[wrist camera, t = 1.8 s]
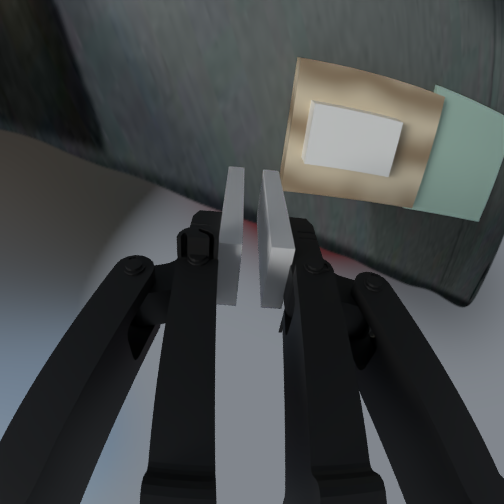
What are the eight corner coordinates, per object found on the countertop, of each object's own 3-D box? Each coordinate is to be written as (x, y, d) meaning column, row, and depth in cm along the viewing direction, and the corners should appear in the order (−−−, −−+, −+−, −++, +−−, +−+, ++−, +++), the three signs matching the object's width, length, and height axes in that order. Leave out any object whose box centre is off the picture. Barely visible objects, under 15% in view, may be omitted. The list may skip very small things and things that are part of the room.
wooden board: (297, 57, 27) (301, 57, 25) (433, 92, 28) (445, 97, 26) (278, 180, 35) (280, 190, 33) (403, 198, 36) (411, 208, 34)
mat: (435, 84, 28) (438, 85, 27) (511, 119, 29) (514, 121, 28) (401, 205, 37) (403, 207, 37) (476, 219, 38) (478, 221, 38)
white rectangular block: (301, 156, 31) (304, 163, 29) (311, 99, 27) (315, 103, 26) (381, 169, 32) (388, 177, 30) (395, 117, 28) (403, 122, 27)
